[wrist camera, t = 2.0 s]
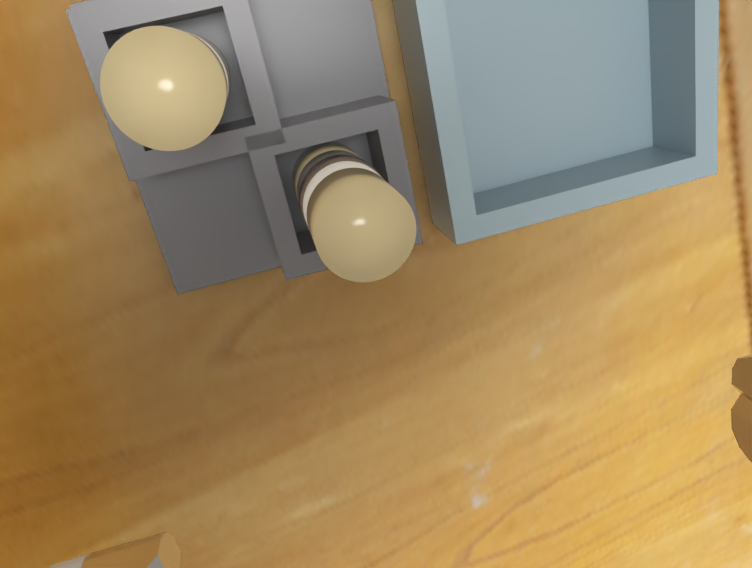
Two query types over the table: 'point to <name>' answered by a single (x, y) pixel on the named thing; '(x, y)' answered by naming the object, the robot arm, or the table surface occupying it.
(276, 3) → the fuse holder
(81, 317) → the table surface
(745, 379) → the robot arm
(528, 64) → the parts tray
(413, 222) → the fuse
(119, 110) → the cylinder
